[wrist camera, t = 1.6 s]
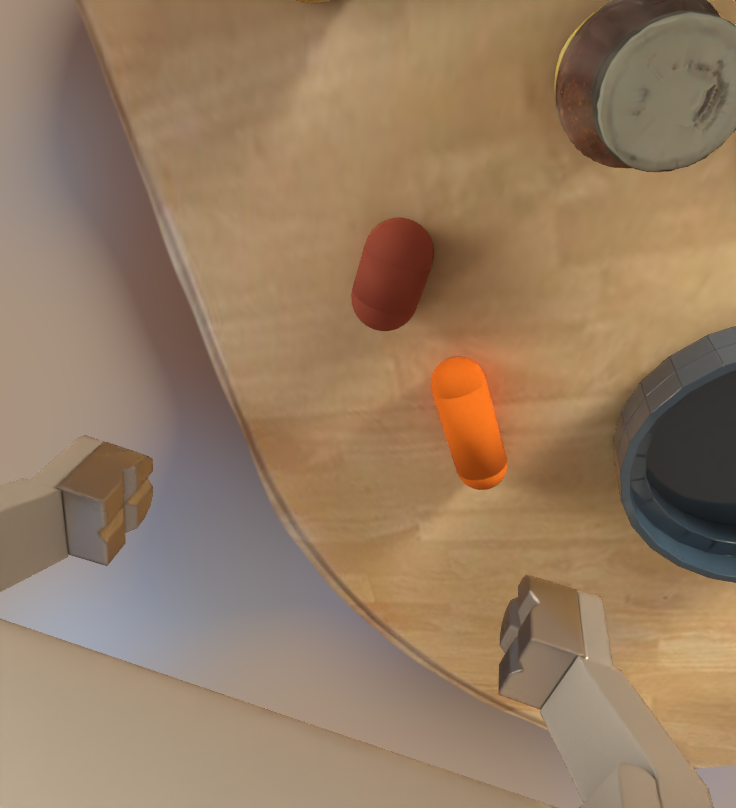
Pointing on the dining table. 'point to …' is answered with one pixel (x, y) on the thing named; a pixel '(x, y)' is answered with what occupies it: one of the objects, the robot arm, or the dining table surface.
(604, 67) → the sauce bottle
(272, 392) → the dining table surface
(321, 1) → the bread roll
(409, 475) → the dining table surface
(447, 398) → the carrot
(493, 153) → the dining table surface
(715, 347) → the bowl
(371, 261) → the sausage
